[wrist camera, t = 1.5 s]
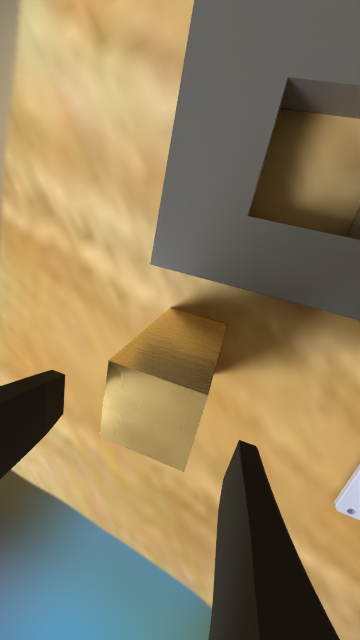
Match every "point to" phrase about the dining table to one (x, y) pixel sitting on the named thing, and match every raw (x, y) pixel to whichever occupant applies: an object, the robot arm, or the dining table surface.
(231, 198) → the grey flat slab
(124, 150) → the dining table surface
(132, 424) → the plug block
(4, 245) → the dining table surface
